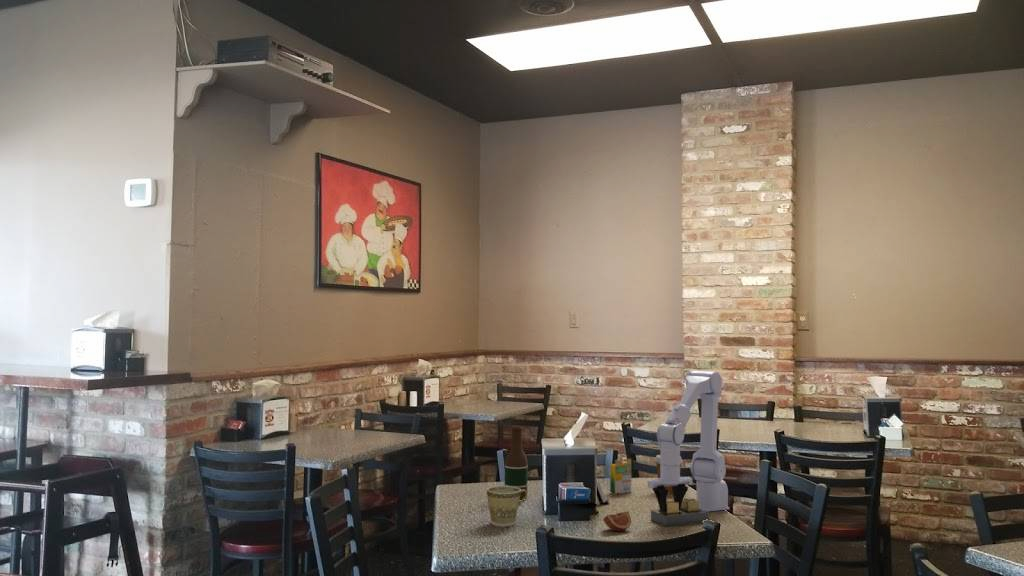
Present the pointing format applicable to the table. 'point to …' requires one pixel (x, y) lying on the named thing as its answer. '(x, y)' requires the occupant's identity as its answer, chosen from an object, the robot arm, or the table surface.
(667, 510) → the beige small block
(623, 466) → the crayon box
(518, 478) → the beer bottle
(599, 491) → the hinge
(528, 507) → the table surface
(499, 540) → the table surface
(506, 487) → the ceramic cup
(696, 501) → the tray
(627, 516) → the fruit slice
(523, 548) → the table surface
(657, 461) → the disposable coffee cup
